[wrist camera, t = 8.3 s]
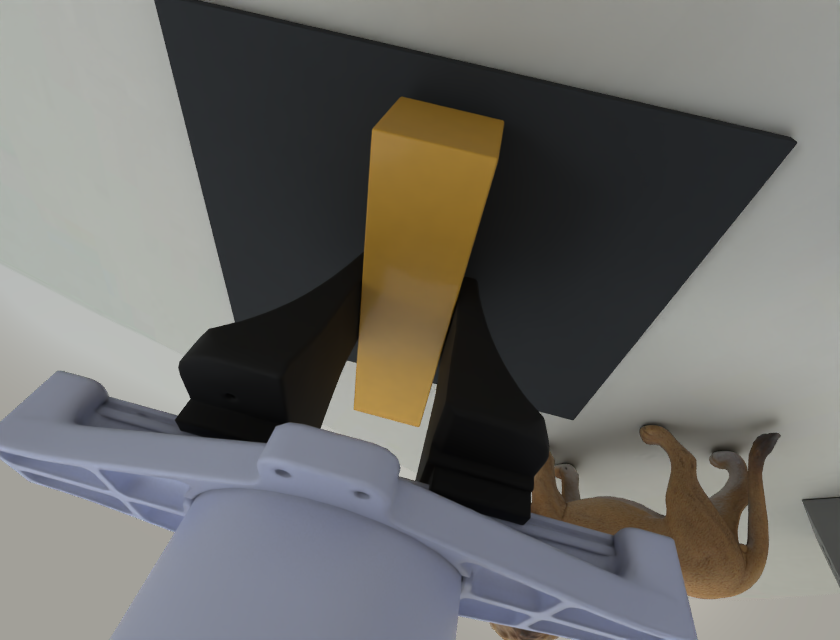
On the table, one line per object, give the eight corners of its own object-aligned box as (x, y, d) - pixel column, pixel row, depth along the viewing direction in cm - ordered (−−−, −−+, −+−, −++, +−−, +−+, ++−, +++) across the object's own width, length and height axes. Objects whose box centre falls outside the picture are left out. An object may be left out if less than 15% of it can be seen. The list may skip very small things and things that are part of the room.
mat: (792, 137, 11) (798, 142, 10) (572, 414, 20) (573, 421, 20) (161, -9, 11) (151, -8, 11) (241, 326, 21) (236, 331, 21)
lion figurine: (519, 491, 27) (515, 659, 21) (473, 452, 25) (452, 627, 19) (788, 450, 19) (917, 707, 13) (754, 386, 17) (891, 660, 10)
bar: (430, 378, 19) (419, 427, 17) (371, 362, 20) (353, 410, 18) (504, 120, 11) (498, 159, 9) (400, 95, 11) (371, 128, 9)
